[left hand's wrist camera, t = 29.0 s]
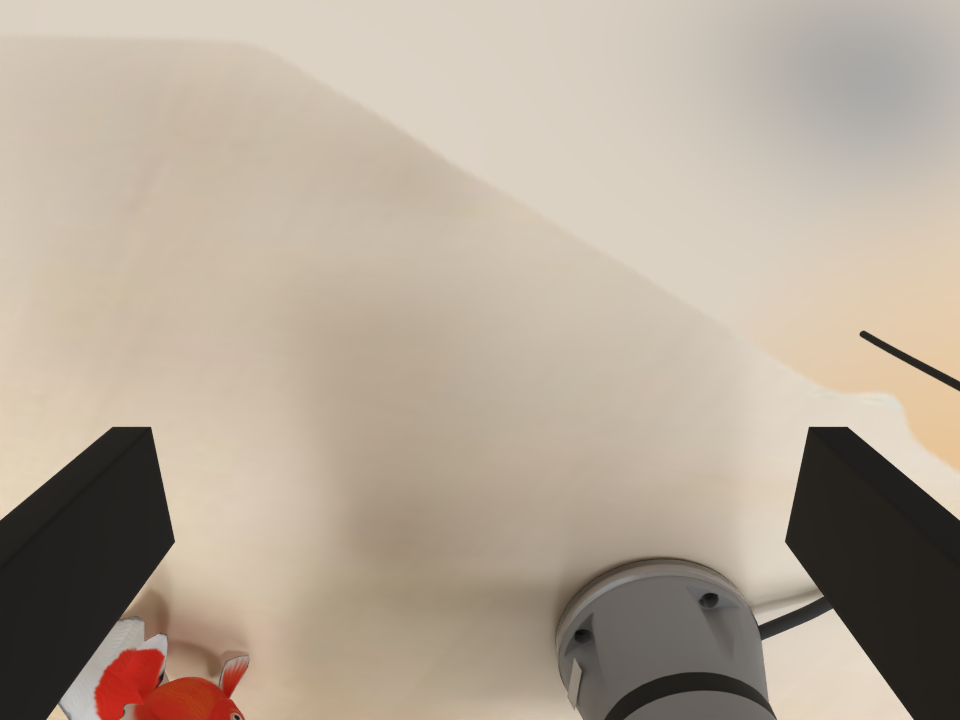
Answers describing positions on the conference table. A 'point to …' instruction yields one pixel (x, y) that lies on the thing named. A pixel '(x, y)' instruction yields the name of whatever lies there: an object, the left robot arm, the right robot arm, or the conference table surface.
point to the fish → (146, 683)
